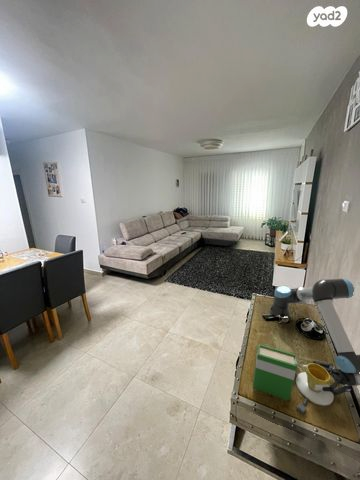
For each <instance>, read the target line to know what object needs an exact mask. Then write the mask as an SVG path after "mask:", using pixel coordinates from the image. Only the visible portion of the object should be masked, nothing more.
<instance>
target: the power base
mask: <svg viewBox="0 0 360 480" xmlns="http://www.w3.org/2000/svg"><path fill="white" fill-rule="evenodd" d="M295 378H296V379H295V383H296V388H297V389H298V390H299V392H300V393H301V395H303V396H304V401H303V403H301V402H298V405H297V406H296V411H298V412H299V413H300V414H301V415H304V414H305V412H306V410H307V407H306V405H307V403H308V401H310V402H311V403H313V404H316V405H317V406H318V405H319V406H321V407H322V406H324V407H325V406H329V405H331V404H332V403H333V402H334V395H333V393H332V392H330V391H323V390H321V391H315V390H313V389H312V388H311V387H310V386H309V385H308V382H307V374H306V371H303V372H299V373H298V374H297V375H296V377H295ZM329 387H330V385H329Z"/></svg>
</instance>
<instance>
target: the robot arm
mask: <svg viewBox="0 0 360 480" xmlns="http://www.w3.org/2000/svg"><path fill="white" fill-rule="evenodd" d="M353 286H354V285H353V283H352V281H350V280H349V279H347V278H333V279H331V278H330V279H328V278H327V279H320V280H318V281H316V282H315V283H314V284H313V286H311V287H304V286H300V287H296V288H290V287H288V286H285V285H279V286H278V287H276V288H275V290H274V295H273V302H272V304H271V305H270V307H269V313H270V314H271V315H272V314H273V315H280V316H281V317H284V316H288V317H289V318H290V316H291V312H290V308H289V307H290V305H291V304H306V303H310V302H311V301H312V300H313V303H314V305H316V306H317V307H318V310H319V312H320V314H321V318H322V320H323V322H324V324H325V326H326V328H327V331H328V334H329V336H330V338H331V340H332V343H333V345H334V347H335V350H336V352H337V356H336V357H335V363H336V365H337V368H335V367H334V364H333V363H326V362H323V361H317V360H312V363H315V364H318V365H320V366H322V367H323V368H325V369H326V370H327V371H328V373H329V375H330V377H331V378H333V380H334V382H333V383H331V385H329V384H328V385H315V388H314V389H315V390H323V391H330V392H332V393H333V395H334V396H335V397H336V396H339V395H341V394H344V393H346V392H348V393H351V390H352V386H359V385H360V374H359V372H360V354H356V352H355V349H354V347H353V345H352V343H351V341H350V339H349V336H348V334H347V333H346V330H345V328H344V325H343V324H342V321H341V319H340V317H339V314H338V313H337V310H336V308H335V306H334V304H333V303H334V300H337V299H349V298H350V299H351V298H352V296H353V297H354V295H353V292H354V290H355V287H353ZM273 315H272V316H273ZM307 365H308V364H302V367H301V369H302V370H303V371H306V367H307ZM340 385H343V386H341V387H339V386H340ZM329 386H330V387H329ZM337 387H339V388H337Z"/></svg>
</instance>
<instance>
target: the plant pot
mask: <svg viewBox="0 0 360 480" xmlns="http://www.w3.org/2000/svg"><path fill="white" fill-rule="evenodd" d="M306 365H307V367H306V370H305V372H306V374H307V382H308V385H309V386H310V387H311V388H312V389H313V390H315V389H314V388H315V385H329V384H330V381H331V375H329V373H328V371H327V370H326V369H325V368H323V367H322V366H320V365H318V364H315V363H313V362H309V363H308V364H306ZM315 391H321V390H315Z"/></svg>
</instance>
